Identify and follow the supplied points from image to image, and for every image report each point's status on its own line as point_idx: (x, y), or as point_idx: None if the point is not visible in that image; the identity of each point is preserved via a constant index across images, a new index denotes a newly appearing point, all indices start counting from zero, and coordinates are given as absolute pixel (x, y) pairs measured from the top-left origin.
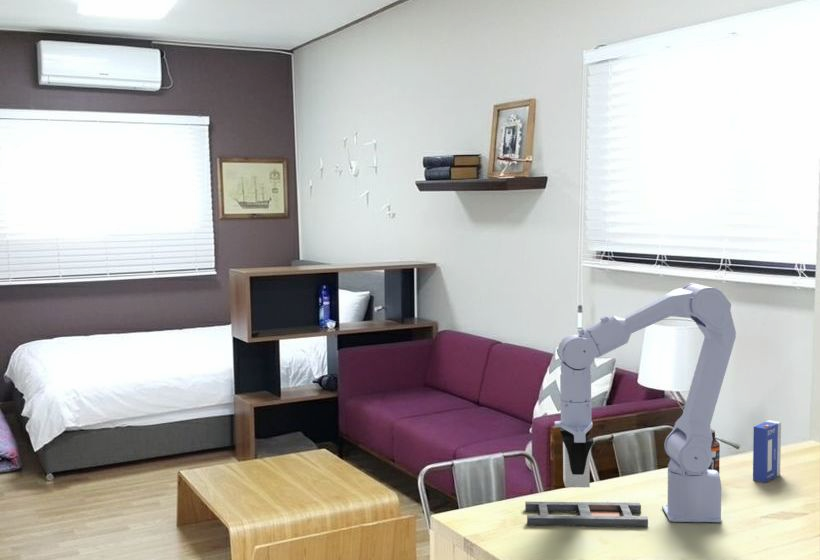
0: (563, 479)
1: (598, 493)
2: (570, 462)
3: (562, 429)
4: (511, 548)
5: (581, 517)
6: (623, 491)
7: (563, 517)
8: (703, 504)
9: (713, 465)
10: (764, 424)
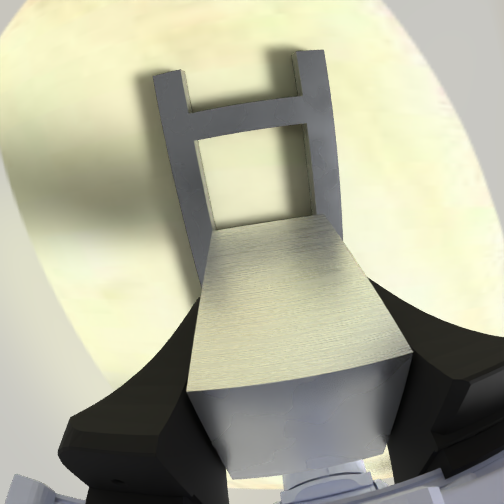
0: (313, 216)
1: (451, 261)
2: (173, 334)
3: (500, 384)
4: (8, 89)
5: (199, 245)
6: (454, 310)
7: (185, 191)
8: None
9: None
10: None
